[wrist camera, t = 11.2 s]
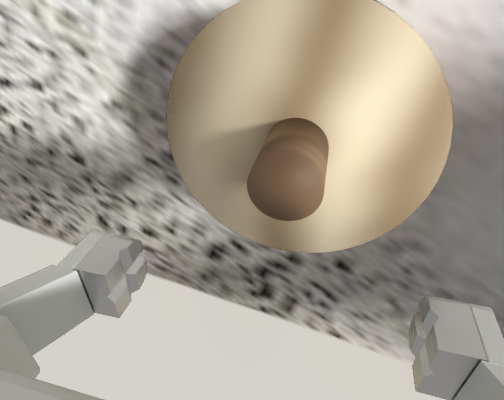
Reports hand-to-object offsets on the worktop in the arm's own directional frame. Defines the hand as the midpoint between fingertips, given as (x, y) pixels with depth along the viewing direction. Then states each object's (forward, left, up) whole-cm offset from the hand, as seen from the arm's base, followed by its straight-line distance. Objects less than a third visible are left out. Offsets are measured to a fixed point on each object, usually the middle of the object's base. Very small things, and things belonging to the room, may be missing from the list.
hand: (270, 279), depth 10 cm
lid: (0, 0, -10) cm, 10 cm away
